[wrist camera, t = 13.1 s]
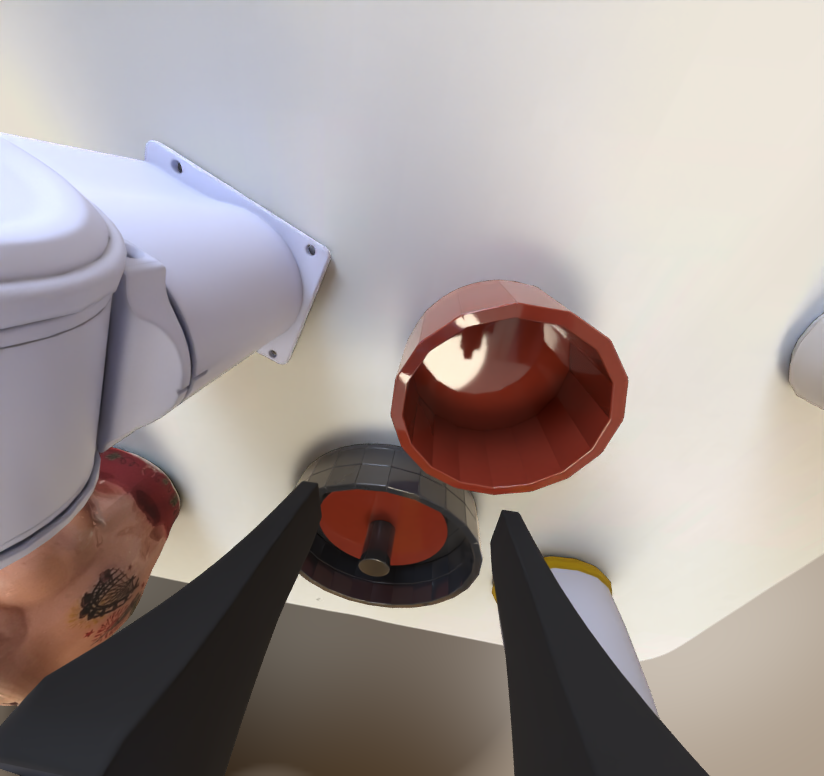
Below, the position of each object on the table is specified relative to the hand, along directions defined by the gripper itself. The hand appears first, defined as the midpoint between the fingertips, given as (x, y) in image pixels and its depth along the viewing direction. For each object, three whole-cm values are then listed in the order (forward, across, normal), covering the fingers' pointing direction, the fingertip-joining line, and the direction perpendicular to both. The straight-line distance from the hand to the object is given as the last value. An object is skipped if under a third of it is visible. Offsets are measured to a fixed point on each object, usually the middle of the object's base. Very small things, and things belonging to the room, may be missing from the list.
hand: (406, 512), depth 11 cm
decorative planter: (+9, +26, +15) cm, 32 cm away
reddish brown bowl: (+9, -4, -2) cm, 10 cm away
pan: (+9, +2, +13) cm, 16 cm away
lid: (+8, +2, +13) cm, 16 cm away
